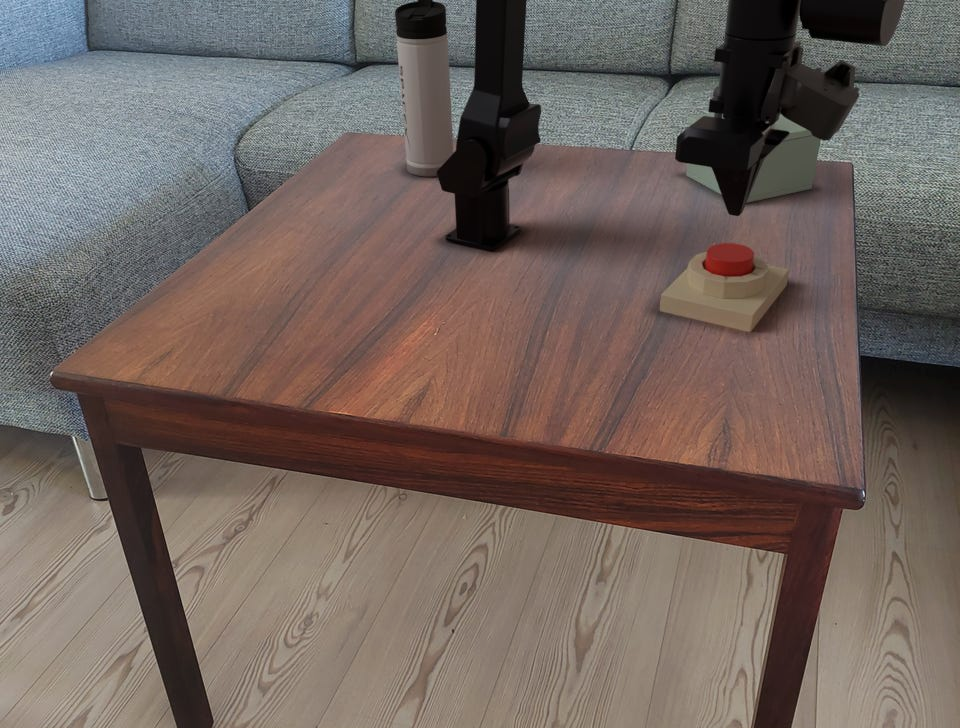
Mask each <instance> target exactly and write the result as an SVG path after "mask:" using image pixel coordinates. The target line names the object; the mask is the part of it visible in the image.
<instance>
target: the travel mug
mask: <svg viewBox="0 0 960 728" xmlns="http://www.w3.org/2000/svg"><path fill="white" fill-rule="evenodd" d="M394 15H395V16H394V17H395V27H396V29H395V30H396V31H395V32H396V34H395V35H396V36H395V38H396V50H397V61H398V70H399V71H398V72H399V86H400V97H401V99H400V100H401V110H402V122H403V134H404V149H405V157H406V160H405V161H406V169H407V172H408V173H410V174H411V175H414V176H417V177H422V178H423V177H425V178H428V177H429V178H430V177H431V178H432V177H438V176H437V170H438V169H439V168H440V167H441V166H442V165H443V164H444V163H445V162H446V161H447V160H448V158H449V157H450V156H451V155H452V154H453V153H454V138H453V137H454V136H453V119H452V118H453V117H452V116H453V115H452V99H451V98H452V96H451V80H450V79H451V78H450V59H449V40H448V28H447V8H446V5H444V4H443V3H442V2H440V1H439V2H438V1H434V0H417V1H412V2H406V3H404V4H402V5H399V6H398V7H396V8H395V10H394Z"/></svg>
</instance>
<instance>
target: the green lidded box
mask: <svg viewBox="0 0 960 728" xmlns="http://www.w3.org/2000/svg"><path fill="white" fill-rule="evenodd" d="M821 141H822V140H821V139H818V138H816V137H814V136H813V135H811V136H806V137H801V138H796V139H791V140H786V141H782V142H781V143H780V144H779V145H778V146H776V148H775V149H774V150H773V151H772V152H771V153H770V154H769V155H768V156H767V157H765V159H764V161H763V163H762V166H761V168H760V171H759V173H758V175H757V178H756V180H755V183H754V185H753V188H752V190H751V193H750V195H749V198H748V200H747V203H752V202H753V203H754V202H758V201H762V200H767V199H772V198H775V197H781V196H786V195H790V194H795V193H799V192H804V191H809V190H812V189H813V184H814V179H815V172H816V168H817V163H818V157H819V153H820V146H821ZM685 176H687V177H688V178H689V179H692V180H694V181H695V182H697V183H699V184H701V185H703V186H704V187H707V188H708V189H710V190H712V191H714V192H716V193H717V194H719V195H721V196H722V194H721V192H720V189H719V186H718V183H717V180H716V178H715V175H714V172H713V170H712V168H711V167H707V166H701V165H694V164H688V163H686V174H685ZM747 203H746V204H747Z"/></svg>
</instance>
